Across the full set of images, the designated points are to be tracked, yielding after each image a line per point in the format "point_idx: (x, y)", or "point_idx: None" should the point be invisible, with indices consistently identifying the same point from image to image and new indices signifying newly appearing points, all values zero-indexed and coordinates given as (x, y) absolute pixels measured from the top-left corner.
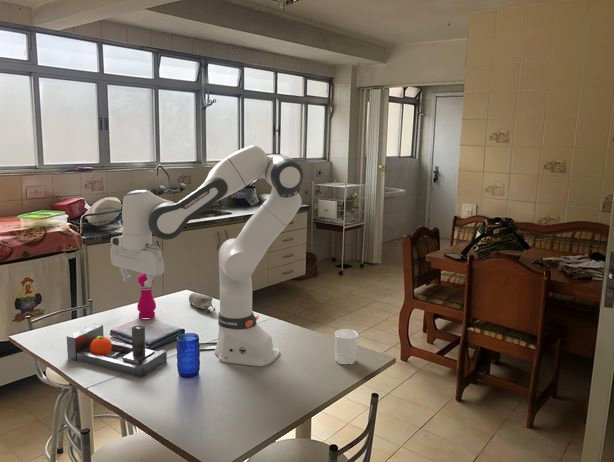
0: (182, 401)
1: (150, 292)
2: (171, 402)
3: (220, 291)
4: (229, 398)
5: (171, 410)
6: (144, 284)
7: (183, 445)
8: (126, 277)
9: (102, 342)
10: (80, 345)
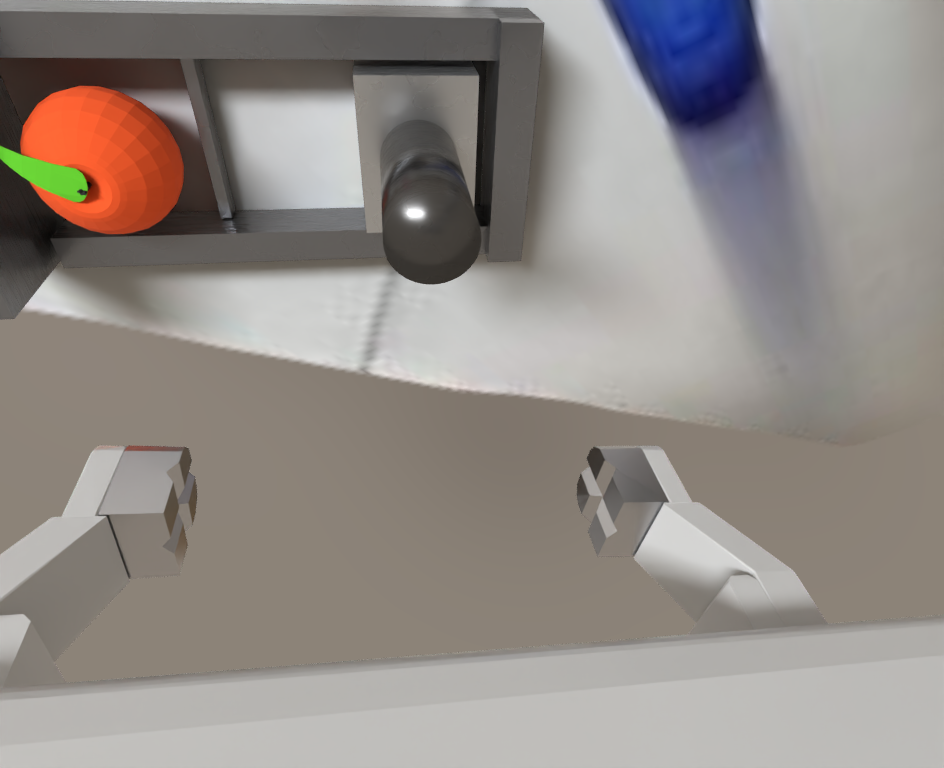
0: (752, 292)
1: None
2: (714, 313)
3: None
4: (936, 197)
5: (731, 346)
6: (591, 521)
7: (811, 436)
8: (183, 557)
9: (140, 206)
10: (23, 246)
